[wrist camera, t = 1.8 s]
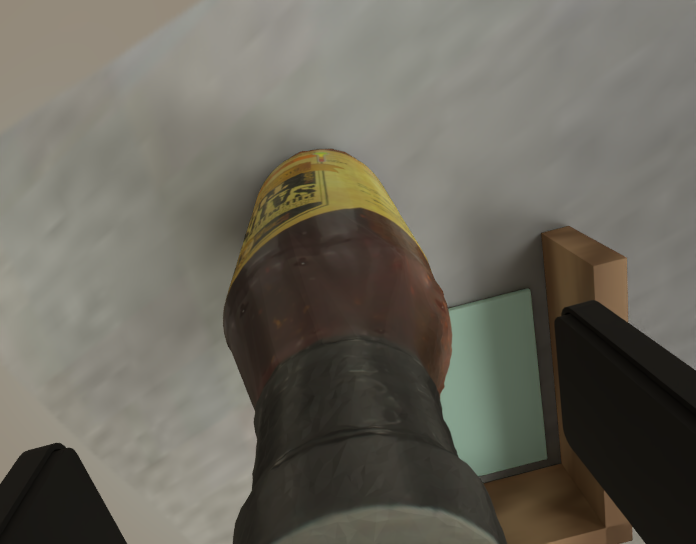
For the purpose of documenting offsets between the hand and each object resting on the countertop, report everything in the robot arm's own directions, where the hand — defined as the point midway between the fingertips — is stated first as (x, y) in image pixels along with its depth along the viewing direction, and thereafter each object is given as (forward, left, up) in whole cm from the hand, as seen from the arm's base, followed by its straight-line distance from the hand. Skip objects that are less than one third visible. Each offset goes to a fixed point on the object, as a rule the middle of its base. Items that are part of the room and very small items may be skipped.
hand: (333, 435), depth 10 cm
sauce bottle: (-1, 0, -17) cm, 17 cm away
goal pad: (-5, +13, -17) cm, 21 cm away
